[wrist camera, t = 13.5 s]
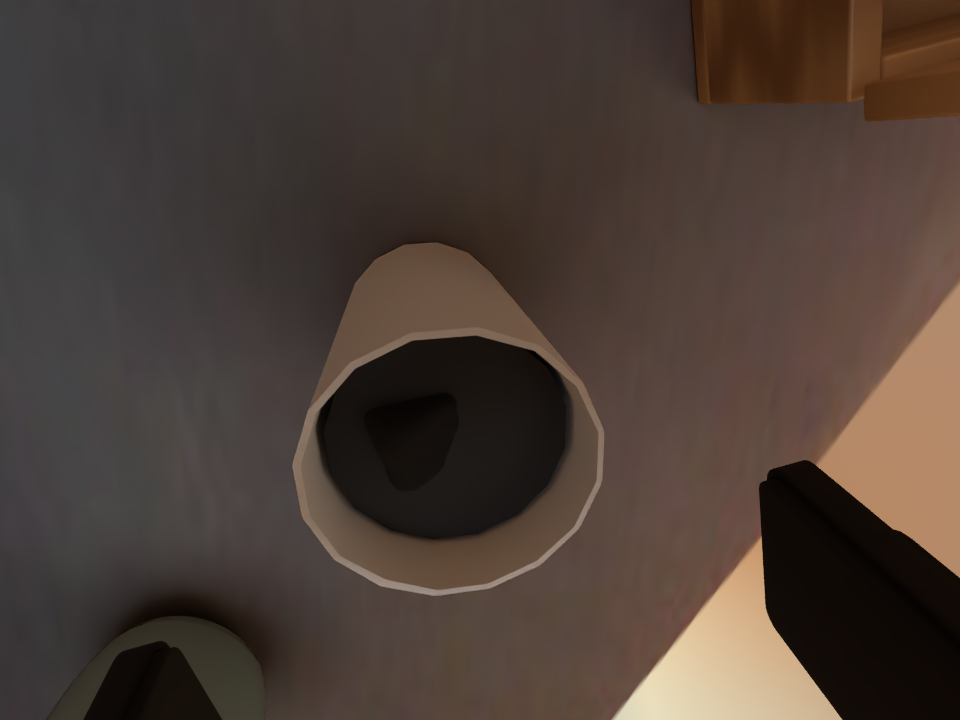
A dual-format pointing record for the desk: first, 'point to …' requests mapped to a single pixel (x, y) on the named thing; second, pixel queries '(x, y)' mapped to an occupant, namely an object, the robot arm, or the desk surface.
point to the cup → (209, 653)
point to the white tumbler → (444, 431)
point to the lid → (915, 94)
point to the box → (816, 46)
